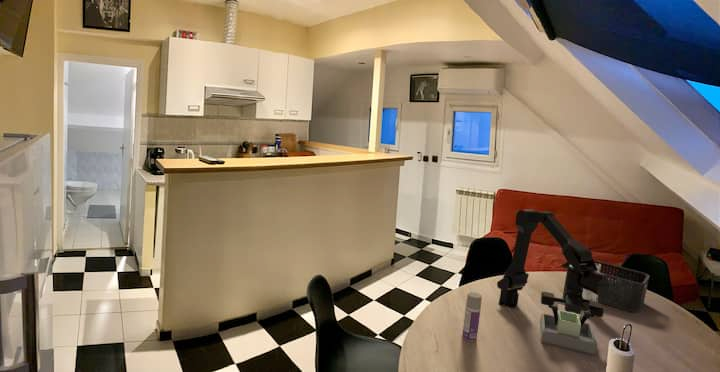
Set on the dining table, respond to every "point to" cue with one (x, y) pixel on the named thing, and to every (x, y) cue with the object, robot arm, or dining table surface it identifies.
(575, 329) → the small crate
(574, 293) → the robot arm
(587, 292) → the plastic bottle
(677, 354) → the dining table surface
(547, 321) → the large crate
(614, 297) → the storage bin
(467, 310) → the container
